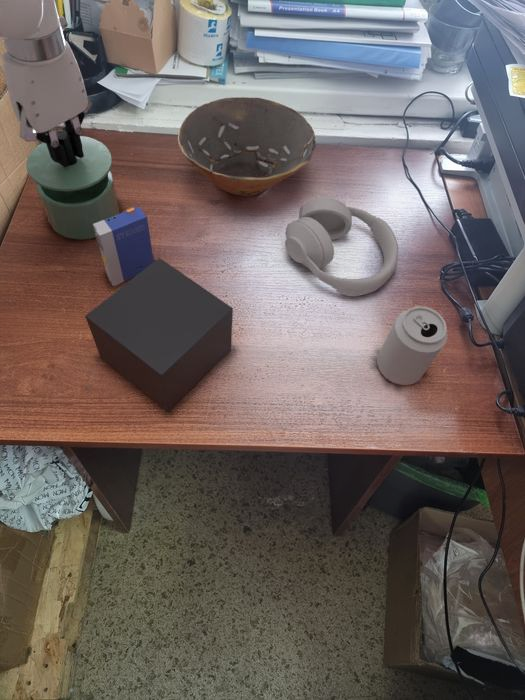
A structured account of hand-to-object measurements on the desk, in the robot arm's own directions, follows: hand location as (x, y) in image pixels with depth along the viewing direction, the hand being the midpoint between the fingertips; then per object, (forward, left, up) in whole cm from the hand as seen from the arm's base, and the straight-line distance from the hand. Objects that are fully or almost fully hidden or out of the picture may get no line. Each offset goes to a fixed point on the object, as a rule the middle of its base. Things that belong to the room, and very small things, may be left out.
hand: (68, 157), depth 82 cm
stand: (-12, -32, -12) cm, 36 cm away
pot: (0, 0, -12) cm, 12 cm away
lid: (0, 0, -1) cm, 1 cm away
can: (+10, -61, -12) cm, 63 cm away
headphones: (+23, -41, -12) cm, 49 cm away
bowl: (+28, -15, -12) cm, 34 cm away
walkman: (-4, -16, -12) cm, 21 cm away
